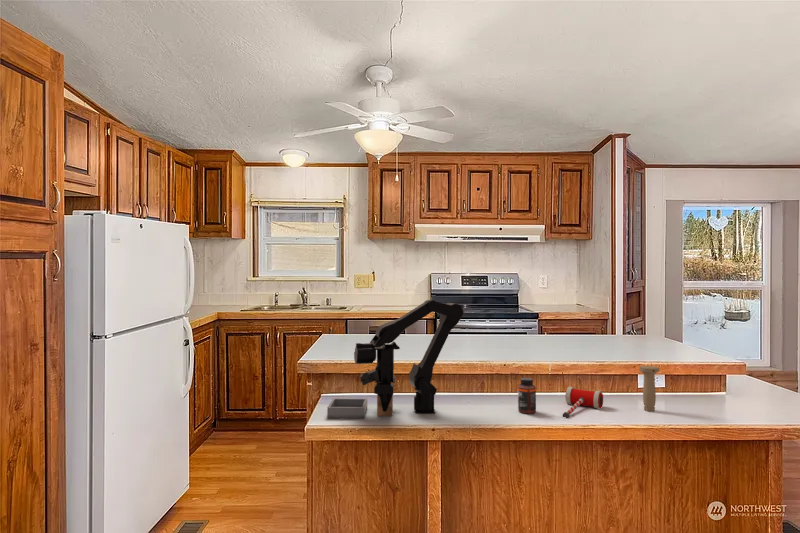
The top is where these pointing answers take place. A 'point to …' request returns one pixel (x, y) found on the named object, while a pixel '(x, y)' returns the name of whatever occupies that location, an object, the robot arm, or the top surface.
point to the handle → (649, 386)
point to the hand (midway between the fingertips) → (385, 409)
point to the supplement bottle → (527, 396)
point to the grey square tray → (347, 408)
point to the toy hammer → (582, 399)
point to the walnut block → (380, 410)
